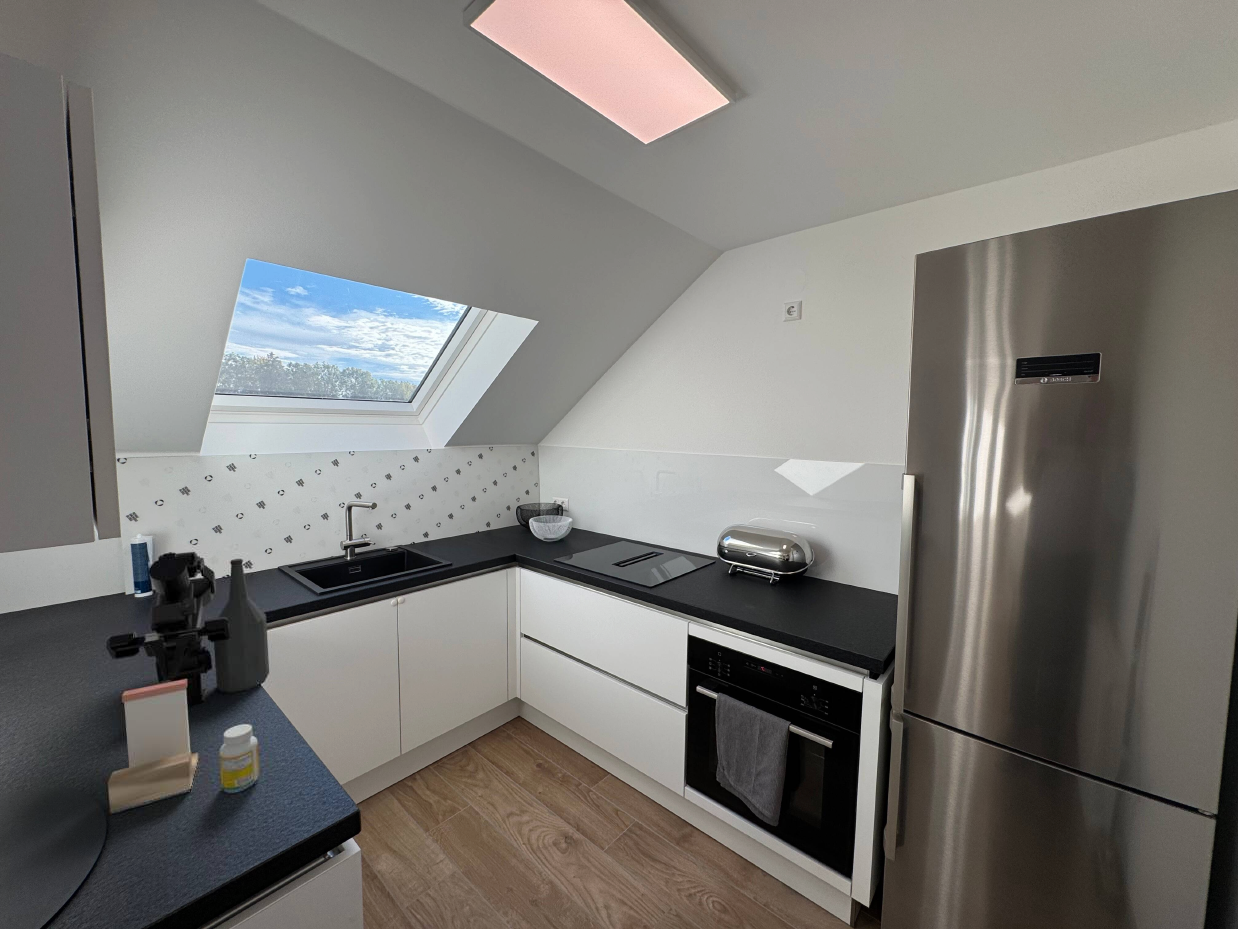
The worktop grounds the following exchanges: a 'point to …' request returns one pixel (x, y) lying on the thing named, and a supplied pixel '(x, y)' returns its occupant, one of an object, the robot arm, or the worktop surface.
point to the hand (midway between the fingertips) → (169, 677)
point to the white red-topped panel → (156, 722)
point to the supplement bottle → (239, 758)
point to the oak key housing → (151, 780)
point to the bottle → (241, 639)
